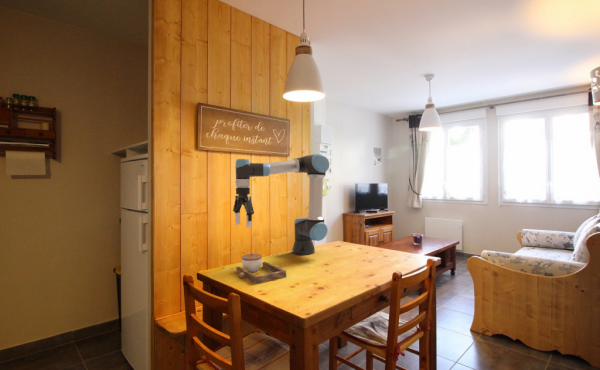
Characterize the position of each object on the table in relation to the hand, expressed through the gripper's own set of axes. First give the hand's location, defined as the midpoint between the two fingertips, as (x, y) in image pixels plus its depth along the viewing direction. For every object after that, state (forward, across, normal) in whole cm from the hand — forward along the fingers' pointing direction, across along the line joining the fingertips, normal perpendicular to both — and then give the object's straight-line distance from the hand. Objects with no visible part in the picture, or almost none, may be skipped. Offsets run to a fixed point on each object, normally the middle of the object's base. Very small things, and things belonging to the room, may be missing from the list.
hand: (243, 225), depth 164 cm
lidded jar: (+24, +6, +2) cm, 25 cm away
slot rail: (+24, +15, +2) cm, 28 cm away
